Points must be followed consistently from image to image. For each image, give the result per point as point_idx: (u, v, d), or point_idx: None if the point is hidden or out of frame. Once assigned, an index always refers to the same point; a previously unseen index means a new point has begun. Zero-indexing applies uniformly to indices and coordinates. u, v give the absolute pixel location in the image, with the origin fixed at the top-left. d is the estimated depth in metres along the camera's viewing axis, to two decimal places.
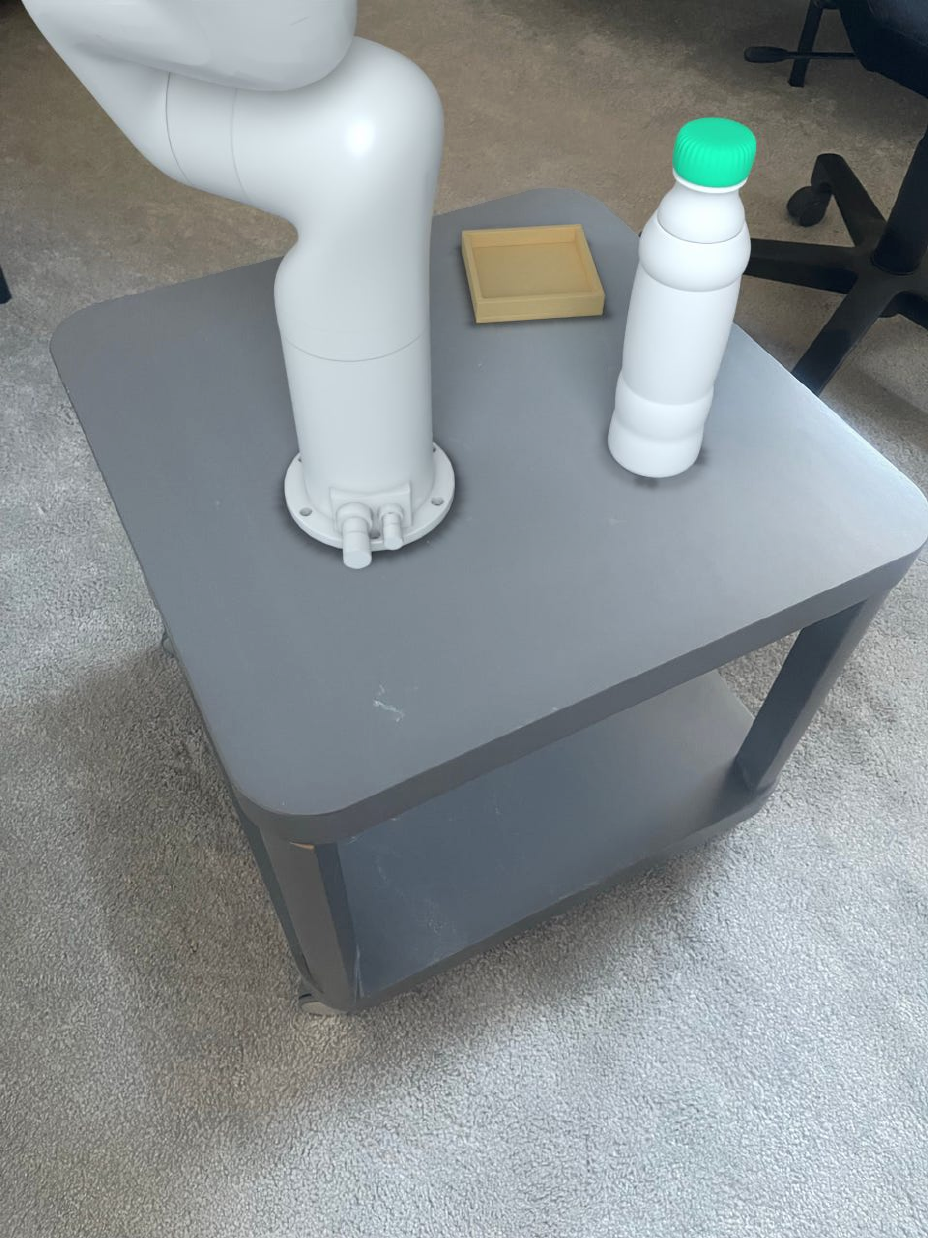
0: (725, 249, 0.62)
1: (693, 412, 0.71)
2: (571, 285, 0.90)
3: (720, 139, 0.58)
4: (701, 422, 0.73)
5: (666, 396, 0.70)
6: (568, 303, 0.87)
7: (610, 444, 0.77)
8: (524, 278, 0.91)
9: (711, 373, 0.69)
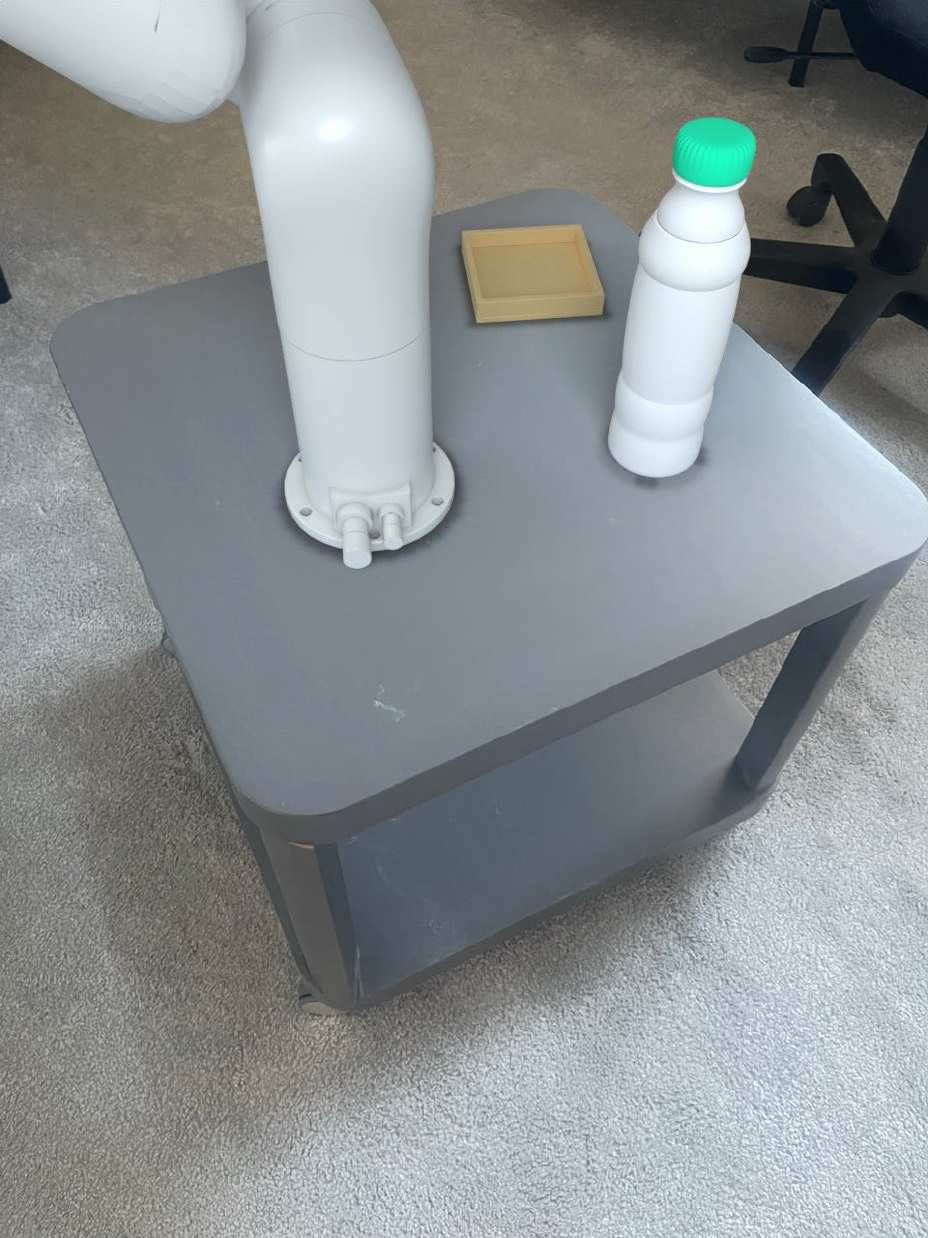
0: (725, 249, 0.62)
1: (693, 412, 0.71)
2: (571, 285, 0.90)
3: (720, 139, 0.58)
4: (701, 422, 0.73)
5: (666, 396, 0.70)
6: (568, 303, 0.87)
7: (610, 444, 0.77)
8: (524, 278, 0.91)
9: (710, 372, 0.69)
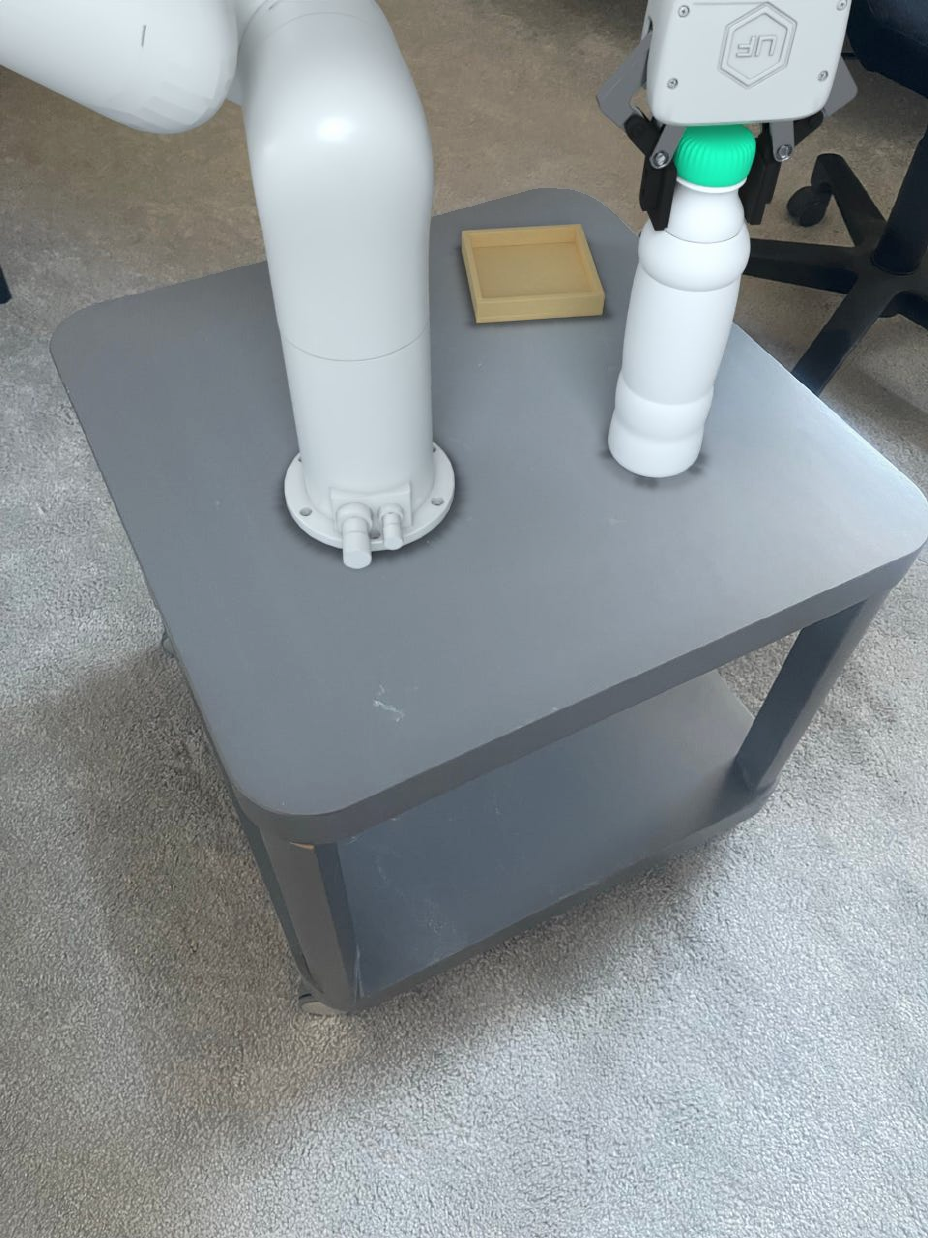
0: (725, 249, 0.62)
1: (693, 412, 0.71)
2: (571, 285, 0.90)
3: (720, 139, 0.58)
4: (701, 422, 0.73)
5: (666, 396, 0.70)
6: (568, 303, 0.87)
7: (610, 444, 0.77)
8: (524, 278, 0.91)
9: (710, 372, 0.69)
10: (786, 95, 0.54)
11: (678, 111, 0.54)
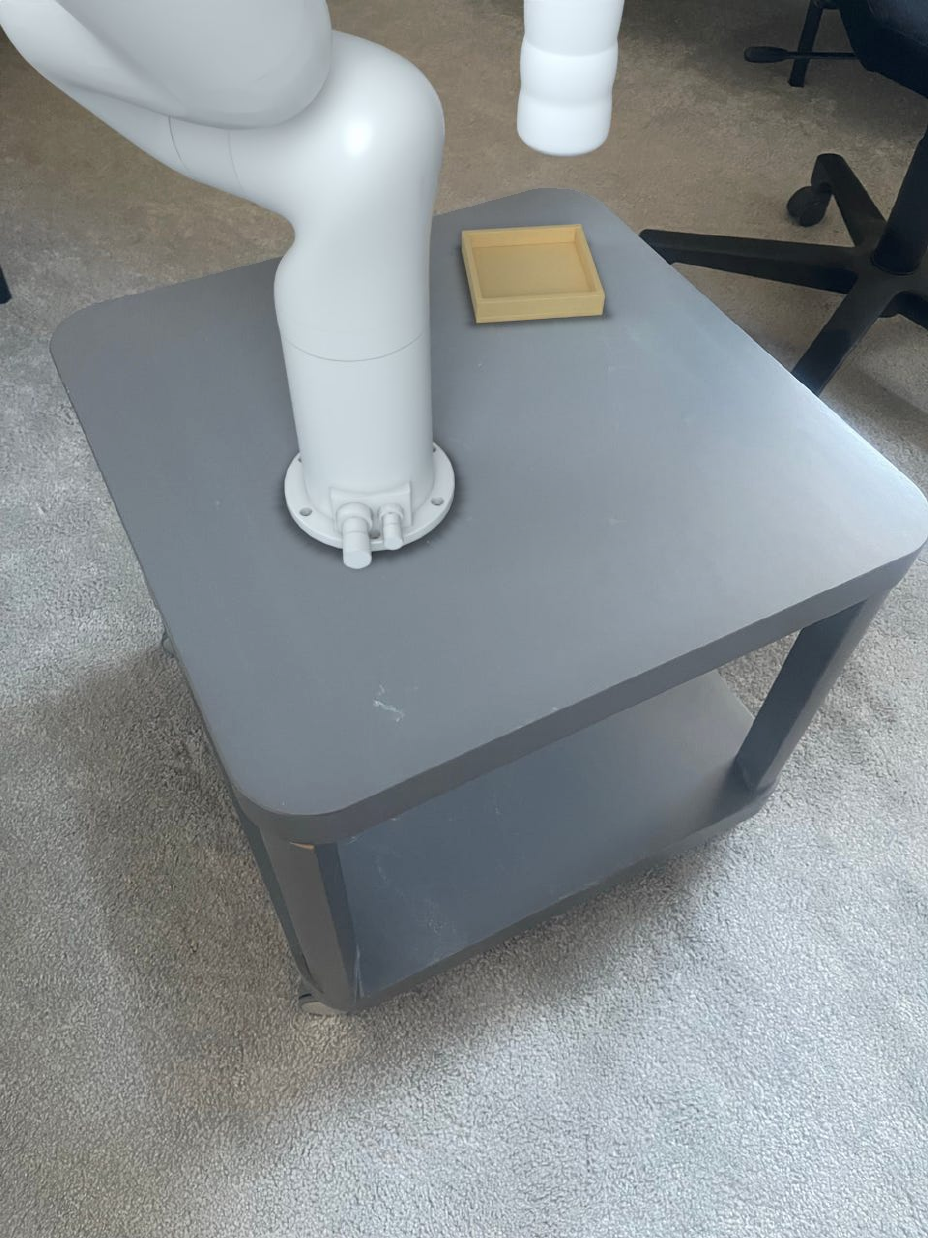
0: None
1: (595, 68, 0.70)
2: (571, 285, 0.90)
3: None
4: (605, 85, 0.72)
5: (565, 43, 0.69)
6: (568, 303, 0.87)
7: (518, 124, 0.76)
8: (524, 278, 0.91)
9: (609, 16, 0.68)
10: None
11: None
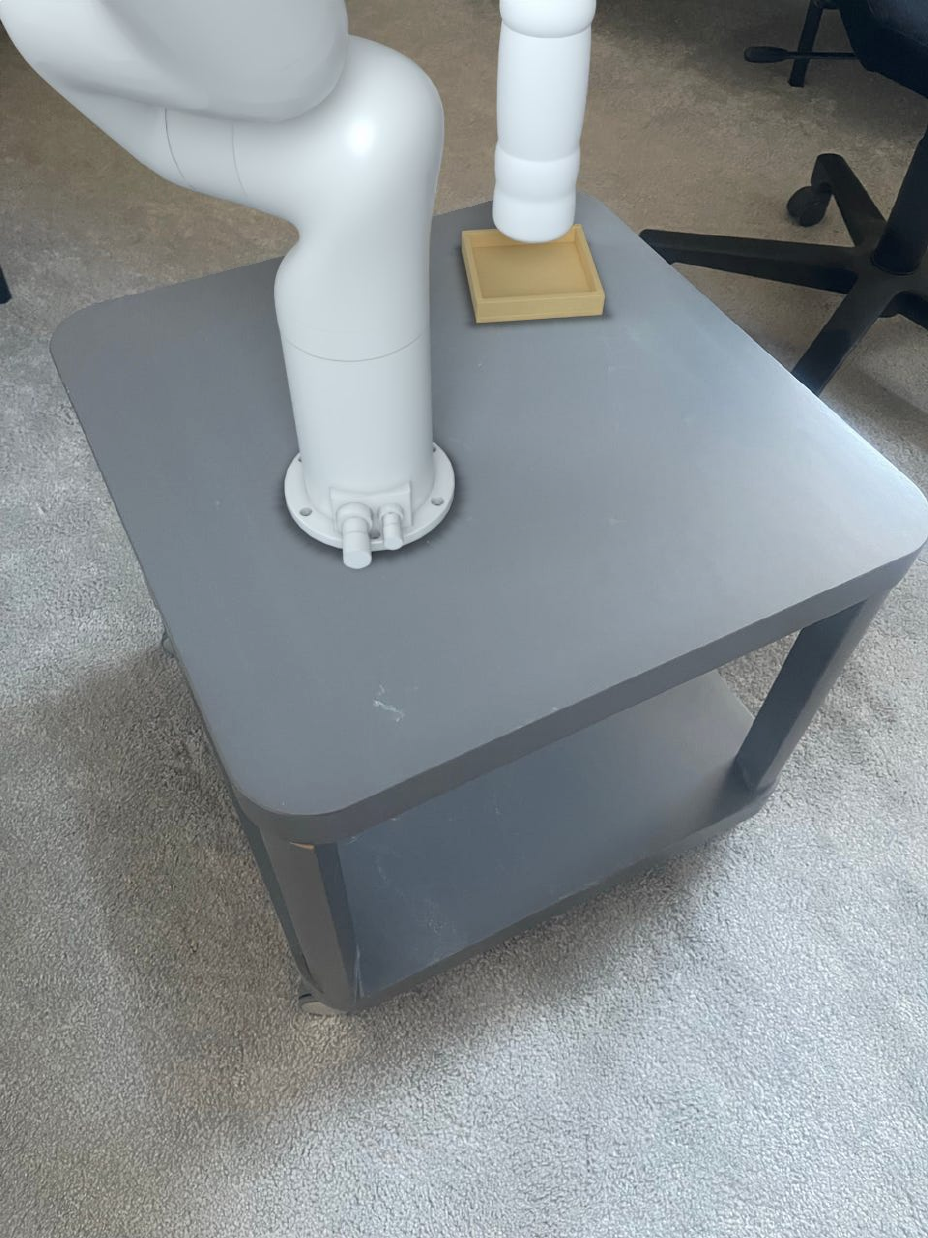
0: None
1: (559, 171, 0.80)
2: (571, 285, 0.90)
3: None
4: (569, 184, 0.82)
5: (533, 151, 0.79)
6: (568, 303, 0.87)
7: (493, 215, 0.86)
8: (524, 278, 0.91)
9: (571, 128, 0.78)
10: None
11: None
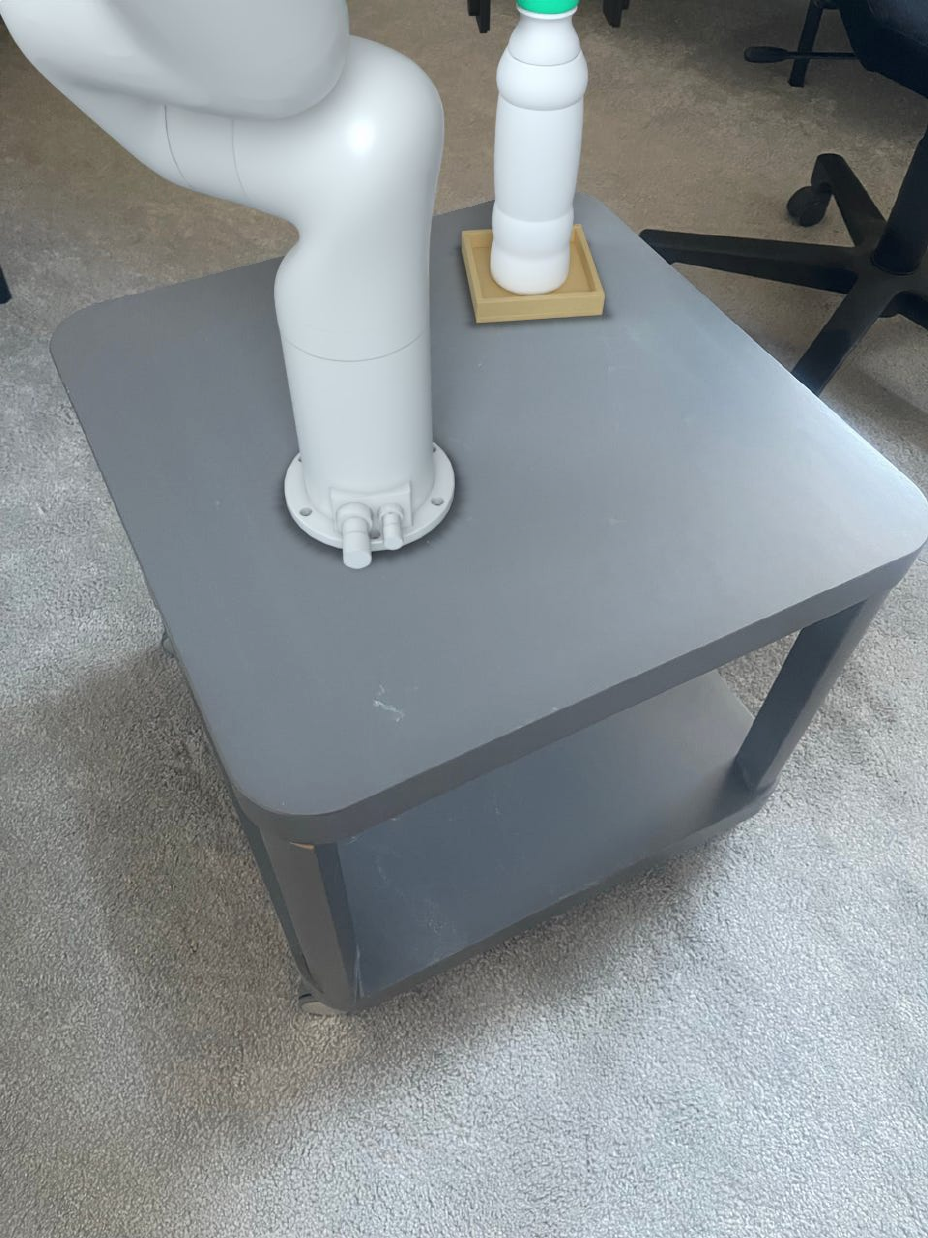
0: (562, 71, 0.74)
1: (554, 230, 0.84)
2: (571, 285, 0.90)
3: None
4: (563, 242, 0.86)
5: (528, 213, 0.83)
6: (568, 303, 0.87)
7: (491, 268, 0.90)
8: None
9: (564, 191, 0.82)
10: None
11: None
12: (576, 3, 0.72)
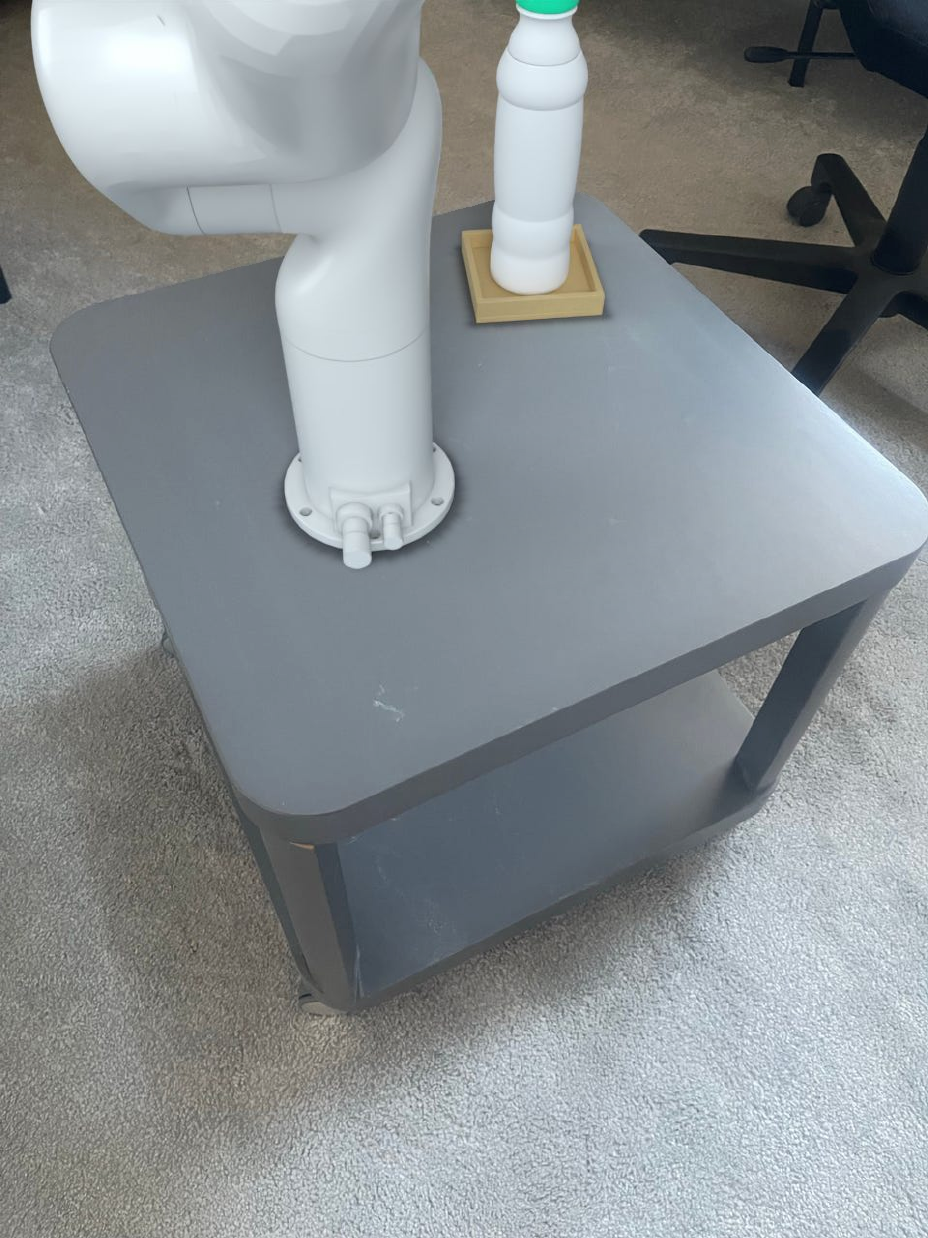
0: (562, 71, 0.74)
1: (554, 230, 0.84)
2: (571, 285, 0.90)
3: None
4: (563, 242, 0.86)
5: (528, 213, 0.83)
6: (568, 303, 0.87)
7: (491, 268, 0.90)
8: None
9: (564, 191, 0.82)
10: None
11: None
12: (576, 3, 0.72)
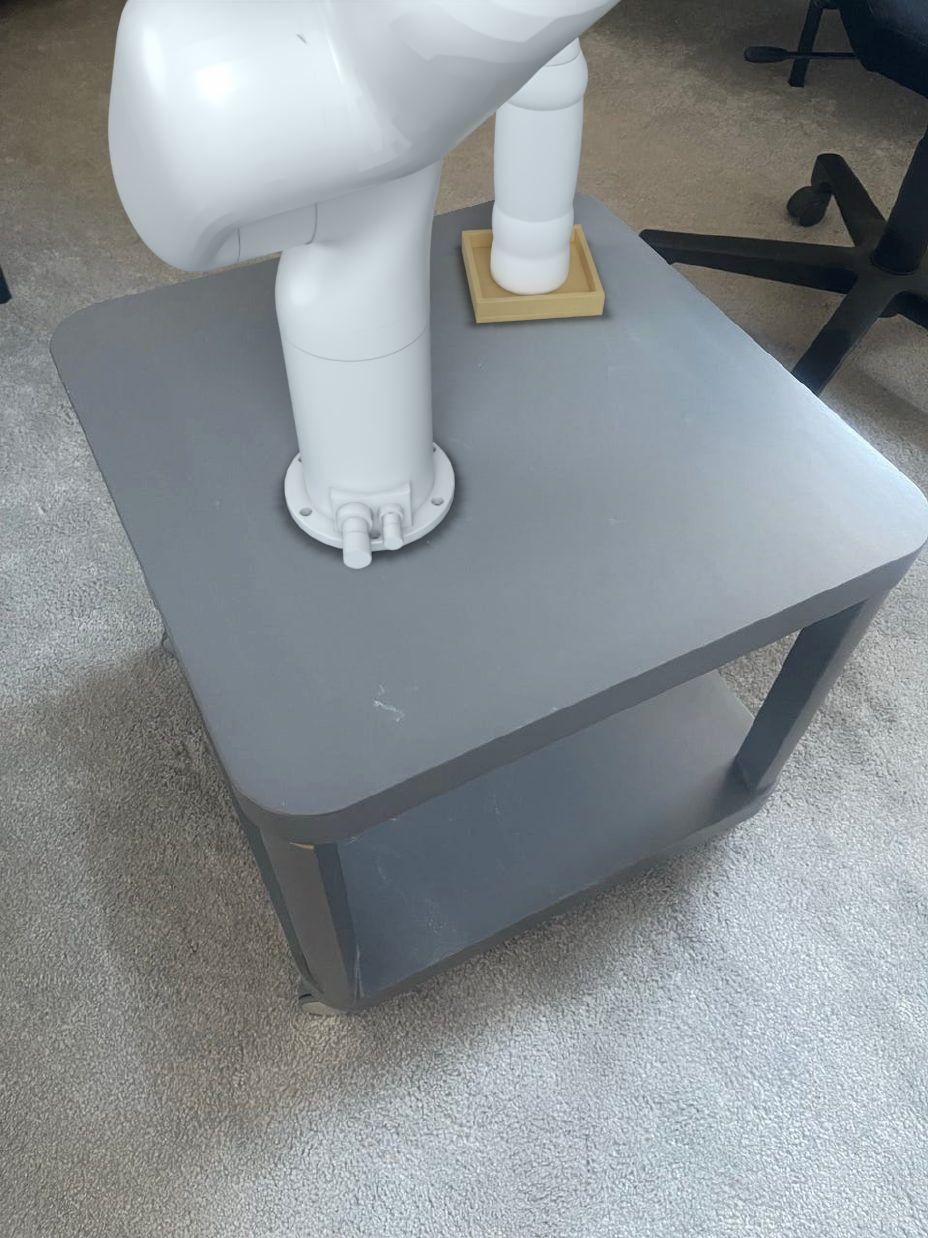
0: (562, 71, 0.74)
1: (554, 230, 0.84)
2: (571, 285, 0.90)
3: None
4: (563, 242, 0.86)
5: (528, 213, 0.83)
6: (568, 303, 0.87)
7: (491, 268, 0.90)
8: None
9: (564, 191, 0.82)
10: None
11: None
12: None
